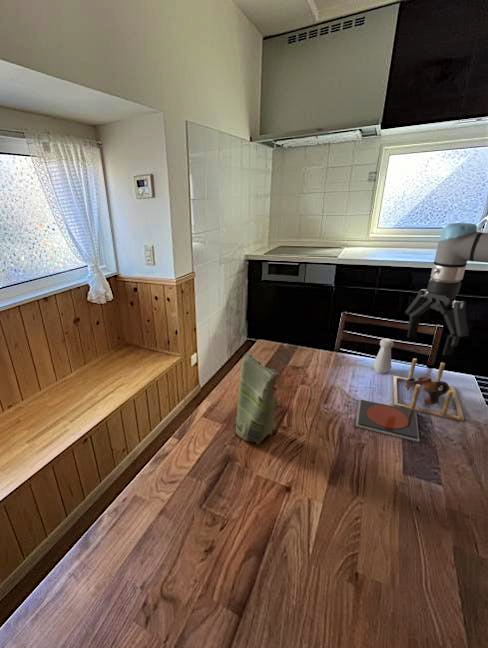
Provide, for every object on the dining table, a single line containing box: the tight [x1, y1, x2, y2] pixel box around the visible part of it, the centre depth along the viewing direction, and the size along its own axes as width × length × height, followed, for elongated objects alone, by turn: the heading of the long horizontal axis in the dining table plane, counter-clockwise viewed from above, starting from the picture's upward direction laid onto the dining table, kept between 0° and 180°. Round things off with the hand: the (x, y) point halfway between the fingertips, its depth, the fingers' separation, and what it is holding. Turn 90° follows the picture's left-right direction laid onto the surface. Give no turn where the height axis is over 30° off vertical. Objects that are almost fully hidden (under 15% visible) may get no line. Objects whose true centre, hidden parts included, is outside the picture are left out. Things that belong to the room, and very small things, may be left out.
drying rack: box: [392, 357, 465, 422], centre depth 110 cm, size 18×19×9 cm
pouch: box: [235, 352, 279, 445], centre depth 95 cm, size 11×12×25 cm
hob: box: [355, 399, 421, 443], centre depth 102 cm, size 16×14×1 cm
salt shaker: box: [373, 338, 395, 375], centre depth 125 cm, size 6×6×13 cm
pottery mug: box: [404, 376, 450, 406], centre depth 111 cm, size 12×10×8 cm
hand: (428, 345), depth 106 cm, fingers open, 13 cm apart
